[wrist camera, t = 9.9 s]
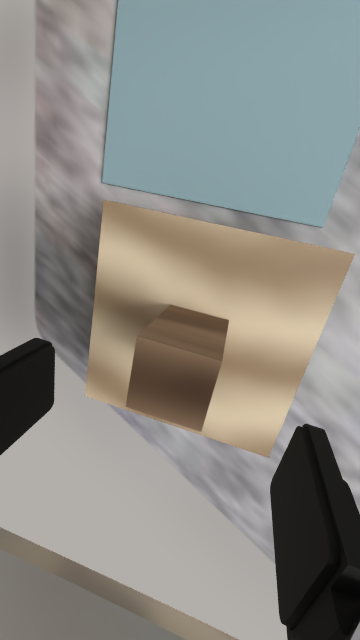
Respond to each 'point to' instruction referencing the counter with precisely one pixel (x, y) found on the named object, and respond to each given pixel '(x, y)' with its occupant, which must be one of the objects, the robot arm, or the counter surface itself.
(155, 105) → the mat
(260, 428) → the lid
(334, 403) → the counter surface
